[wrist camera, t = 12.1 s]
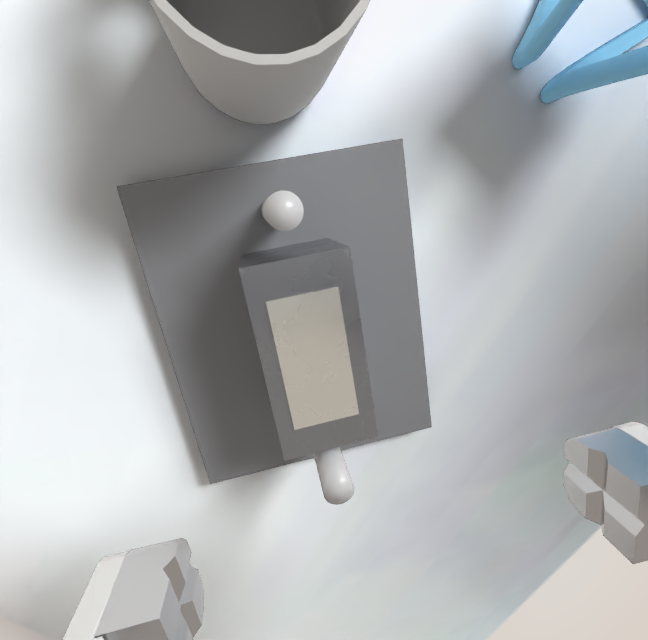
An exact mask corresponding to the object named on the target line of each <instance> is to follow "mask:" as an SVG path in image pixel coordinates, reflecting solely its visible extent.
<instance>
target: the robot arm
mask: <svg viewBox="0 0 648 640" xmlns="http://www.w3.org/2000/svg"><path fill="white" fill-rule="evenodd" d="M564 456H565V457H566V459H567V460H568V461H569V462H570V463H569V464H568V466H567V467H566V469H565V471H564V472H563V483H564V488H565V490H566V493H567V495H568V498H569V500H570V501H571V503H572V504H573V505H574V507H575V508H576V509H577V510H578V511H579V512H580V513H581V514H582V515H583V516H584V517H585V518H586V519H589V520H591V521H593V522H596V523H598V524H600V525H601V527H602V532H603V536H604V537H605V538H606V539H607V540H609V542H610V543H611V544H613V545H614V546H615V547H616V548H617V549H618V550H619V551H620V552H621V553H622V554H623V555H624V556H625V557H626V558H627V559H628V560H629V561H630V562H631V563H632V564H636V563H639V562H643V561H647V560H648V427H647V426H645V425H643V424H641V423H637V422H633V421H632V422H628V423H625V424H621V425H618V426H614V427H611V428H609V429H604V430H600V431H596V432H593V433H589V434H585V435H581V436H578V437H574V438H570V439H567V441H566V443H565V445H564ZM190 558H191V550H190V547H189V545H188V542H187V540H186V539H183V538H181V539H176V540H172V541H168V542H163V543H159V544H155V545H150V546H146V547H142V548H137V549H133V550H131V551H127V552H123V553H118V554H114V555H109V556H105V557H104V558H103V559H102V560H101V561H99V562H98V564H97V566H96V568H95V570H94V572H93V574H92V576H91V579H90V581H89V583H88V585H87V587H86V589H85V592H84V594H83V596H82V598H81V600H80V602H79V605H78V607H77V609H76V611H75V613H74V615H73V618H72V620H71V622H70V624H69V626H68V628H67V631H66V633H65V635H64V637H63V639H62V640H193V637H194V635H195V634H196V632H197V631H198V629H199V628H200V626H201V625H202V617H203V609H204V607H203V587H202V582H201V578H200V575H199V572H198V569H196V568H195V567H193V566H191V565H189V563H190Z"/></svg>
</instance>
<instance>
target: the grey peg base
mask: <svg viewBox="0 0 648 640" xmlns="http://www.w3.org/2000/svg"><path fill="white" fill-rule="evenodd" d="M117 189H118V192H119V196H120V199H121V202H122V205H123V208H124V211H125V215H126V218H127V221H128V224H129V227H130V230H131V234H132V237H133V240H134V243H135V246H136V249H137V253H138V256H139V259H140V262H141V265H142V268H143V272H144V275H145V278H146V281H147V284H148V287H149V291H150V294H151V297H152V300H153V303H154V307H155V310H156V313H157V316H158V319H159V322H160V326H161V329H162V332H163V335H164V338H165V341H166V345H167V348H168V351H169V354H170V357H171V360H172V364H173V367H174V370H175V373H176V376H177V379H178V383H179V386H180V389H181V392H182V395H183V398H184V402H185V405H186V408H187V411H188V414H189V417H190V421H191V424H192V427H193V430H194V433H195V436H196V440H197V443H198V446H199V449H200V452H201V455H202V459H203V462H204V465H205V468H206V471H207V474H208V478H209V481H210V484H213V483H217V482H221V481H224V480H228V479H232V478H236V477H240V476H244V475H248V474H251V473H255V472H259V471H263V470H267V469H271V468H275V467H279V466H282V465H286V464H290V463H294V462H298V461H302V460H306V459H310V458H313V457H315V461H316V465H317V469H318V473H319V477H320V481H321V486H322V490H323V494H324V497H325V499H326V500H327V501H328V502H329V503H331V504H342V503H345V502H347V501H348V500H349V499H350V498H351V497H352V495H353V493H354V486H353V483H352V480H351V478H350V475H349V472H348V469H347V466H346V464H345V461H344V458H343V455H342V453H341V450H344V449H348V448H352V447H356V446H360V445H364V444H368V443H371V442H375V441H379V440H383V439H387V438H391V437H395V436H399V435H402V434H406V433H410V432H414V431H418V430H422V429H426V428H429V427H431V417H430V407H429V397H428V387H427V377H426V367H425V357H424V348H423V338H422V328H421V318H420V308H419V298H418V288H417V278H416V269H415V259H414V249H413V239H412V229H411V219H410V209H409V199H408V190H407V180H406V170H405V160H404V150H403V140H402V139H398V140H392V141H386V142H380V143H374V144H368V145H362V146H356V147H350V148H344V149H338V150H332V151H326V152H320V153H314V154H308V155H302V156H296V157H290V158H284V159H279V160H273V161H267V162H261V163H255V164H249V165H243V166H237V167H231V168H225V169H219V170H213V171H207V172H201V173H195V174H189V175H183V176H177V177H171V178H165V179H159V180H153V181H147V182H141V183H135V184H129V185H123V186H117ZM324 238H329V239H332V240H334V241H337V242H339V243H342V244H344V245H347V246H349V247H350V251H351V258H352V265H353V271H354V278H355V285H356V291H357V298H358V305H359V311H360V318H361V325H362V331H363V338H364V345H365V351H366V358H367V365H368V371H369V378H370V385H371V391H372V398H373V405H374V411H375V418H376V425H377V431H378V437H376V438H372V439H368V440H364V441H360V442H356V443H352V444H348V445H344V446H341V447H337V448H333V449H329V450H325V451H321V452H317V453H313V454H309V455H305V456H302V457H298V458H294V459H290V460H286V461H284V457H283V452H282V448H281V444H280V440H279V436H278V432H277V427H276V423H275V419H274V415H273V411H272V407H271V402H270V398H269V394H268V390H267V386H266V382H265V377H264V373H263V369H262V365H261V361H260V357H259V352H258V348H257V344H256V340H255V336H254V332H253V327H252V323H251V319H250V315H249V311H248V307H247V302H246V298H245V294H244V290H243V286H242V282H241V277H240V273H239V265H240V261H241V257H242V254H246V253H252V252H257V251H262V250H267V249H272V248H277V247H283V246H288V245H293V244H298V243H303V242H308V241H314V240H319V239H324Z"/></svg>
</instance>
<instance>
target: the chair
mask: <svg viewBox="0 0 648 640" xmlns="http://www.w3.org/2000/svg"><path fill="white" fill-rule="evenodd" d="M582 1H583V0H540V1H539V3H538V5H537V8H536V10H535V12H534V15H533V17H532V19H531V21H530V24H529V26H528V28H527V30H526V32H525V34H524V36H523V38H522V40H521V42H520V44H519V45H518V47H517V49H516V51H515V53H514V56H513V58H512V64H513V66H514V67H515V68H516V69H521V68H523V67H525V66H526V65H528V64H530V63H531V62H533V61H535V60H536V59H538V57H539V56H540V55H541V54H542V53H543V52H544V51H545V49H546V48H547V47H548V46H549V44H550V43H551V42H552V40H553V39H554V38H555V36H556V35H557V34H558V32H559V31H560V30H561V28H562V27H563V26H564V25H565V23H566V22H567V21H568V19H569V18H570V17H571V15H572V14H573V13H574V12H575V10H576V9H577V8H578V6H579V5H580V4H581V3H582ZM643 1H644V3H645V4H646V6H647V7H648V0H643ZM647 37H648V18H647V19H645V20H643V21H642V22H640V23H638V24H637V25H635V26H633V27H632V28H630V29H628V30H627V31H625V32H623V33H622V34H620V35H618V36H617V37H615V38H613V39H612V40H610V41H608V42H607V43H605V44H603V45H602V46H600V47H598V48H597V49H595V50H594V51H592V52H590V53H589V54H587V55H585V56H584V57H582V58H581V59H579V60H578V61H576V62H575V63H573V64H572V65H570V66H568V67H567V68H566V69H564V70H563V71H562V72H560V73H559V74H558V75H556V76H555V77H554V78H553V79H552V80H550V81H549V82H548V83H547V84H546V86H545V87H544V88H543V89H542V92H541V100H542V102H544V103H550V102H553V101H555V100H557V99H560V98H562V97H565V96H568V95H572V94H575V93H579V92H582V91H586V90H589V89H593V88H597V87H600V86H604V85H608V84H611V83H615V82H619V81H622V80H626V79H630V78H634V77H638V76H642V75H646V74H648V46H645V47H642V48H639V49H636V50H633V51H630V52H627V53H624V52H625V51H627V50H628V49H630V48H631V47H633V46H635V45H636V44H638V43H639V42H641V41H642V40H644V39H645V38H647ZM622 53H624V54H622Z"/></svg>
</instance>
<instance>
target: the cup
mask: <svg viewBox="0 0 648 640" xmlns="http://www.w3.org/2000/svg"><path fill="white" fill-rule="evenodd" d="M149 1H150V3H151V5H152V7H153V9H154V11H155V13H156V15H157V17H158V19H159V21H160V23H161V25H162V27H163V29H164V31H165V33H166V35H167V37H168V39H169V41H170V43H171V45H172V47H173V49H174V51H175V53H176V55H177V57H178V59H179V61H180V63H181V65H182V66H183V68H184V70H185V72H186V73H187V75H188V76H189V78H190V79H191V81H192V82H193V84H194V85H195V87H196V88H197V90H198V91H199V92H200V94H201V95H202V96H203V97H205V98H206V99H207V100H208V101H209V102H210V103H211V104H212V105H213V106H214V107H215V108H216V109H218V110H220V111H221V112H223V113H225V114H227V115H229V116H230V117H232V118H234V119H237V120H241V121H245V122H249V123H253V124H268V123H276V122H279V121H282V120H285V119H288V118H291V117H292V116H294V115H295V114H297V113H298V112H299V111H301V110H302V109H304V108H305V107H306V106H307V105H308V104H309V103H310V102H311V101H312V99H313V98H314V97H315V96H316V94H317V93H318V92H319V91H320V89H321V88H322V87H323V85H324V83H325V81H326V79H327V78H328V76H329V74H330V72H331V71H332V69H333V67H334V65H335V64H336V62H337V60H338V58H339V57H340V55H341V53H342V51H343V49H344V48H345V46H346V44H347V42H348V41H349V39H350V37H351V35H352V34H353V32H354V30H355V28H356V27H357V25H358V23H359V21H360V19H361V18H362V16H363V14H364V12H365V11H366V9H367V7H368V5H369V2H370V0H149Z"/></svg>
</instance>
